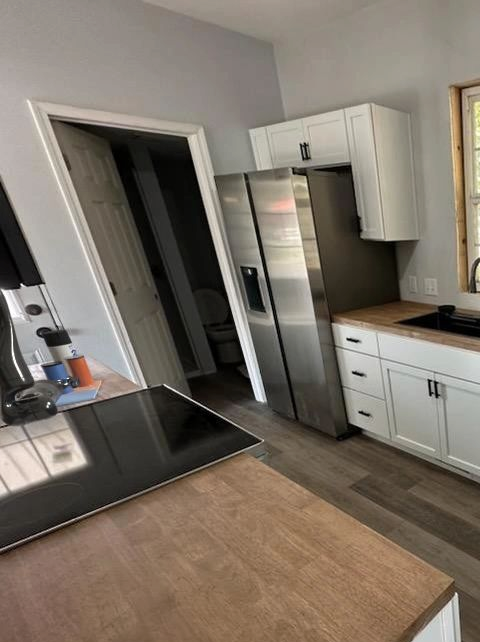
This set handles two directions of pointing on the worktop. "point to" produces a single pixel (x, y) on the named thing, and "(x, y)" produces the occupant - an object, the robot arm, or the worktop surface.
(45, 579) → the worktop surface
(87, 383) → the terracotta canister
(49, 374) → the blue canister
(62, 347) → the spray can
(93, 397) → the sorting board
